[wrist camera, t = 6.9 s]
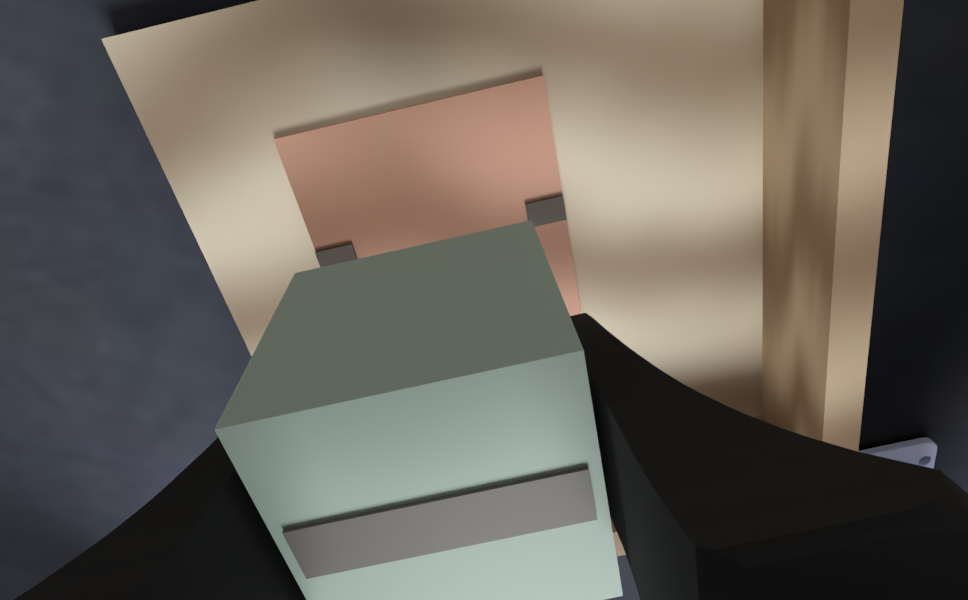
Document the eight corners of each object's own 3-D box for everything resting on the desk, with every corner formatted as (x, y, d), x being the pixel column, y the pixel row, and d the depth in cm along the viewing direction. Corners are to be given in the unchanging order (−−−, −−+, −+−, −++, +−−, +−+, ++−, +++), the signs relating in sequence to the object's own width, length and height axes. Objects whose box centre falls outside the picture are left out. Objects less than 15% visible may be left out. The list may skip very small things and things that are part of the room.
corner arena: (781, 419, 25) (852, 508, 21) (336, 513, 26) (315, 618, 21) (793, -131, 16) (921, -175, 12) (115, 37, 17) (5, 52, 13)
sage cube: (531, 219, 12) (584, 353, 7) (567, 411, 14) (624, 599, 10) (294, 273, 12) (212, 433, 8) (366, 453, 14) (334, 657, 10)
